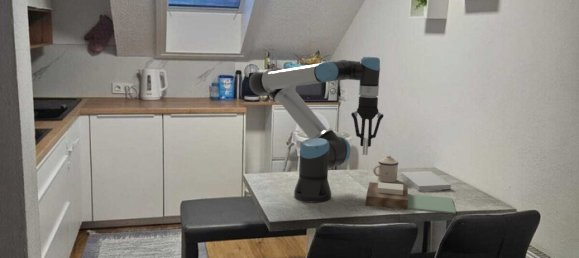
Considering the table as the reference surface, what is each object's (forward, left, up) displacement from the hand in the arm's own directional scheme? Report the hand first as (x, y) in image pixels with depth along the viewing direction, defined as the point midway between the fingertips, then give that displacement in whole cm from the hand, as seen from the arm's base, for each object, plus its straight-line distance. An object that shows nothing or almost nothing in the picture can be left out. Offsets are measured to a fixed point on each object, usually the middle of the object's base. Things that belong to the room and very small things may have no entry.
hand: (365, 154), depth 213 cm
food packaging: (+26, +29, -19) cm, 43 cm away
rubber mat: (+27, 0, -18) cm, 33 cm away
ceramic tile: (+11, 0, -14) cm, 18 cm away
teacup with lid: (+8, +29, -19) cm, 35 cm away
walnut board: (+10, 0, -18) cm, 21 cm away
